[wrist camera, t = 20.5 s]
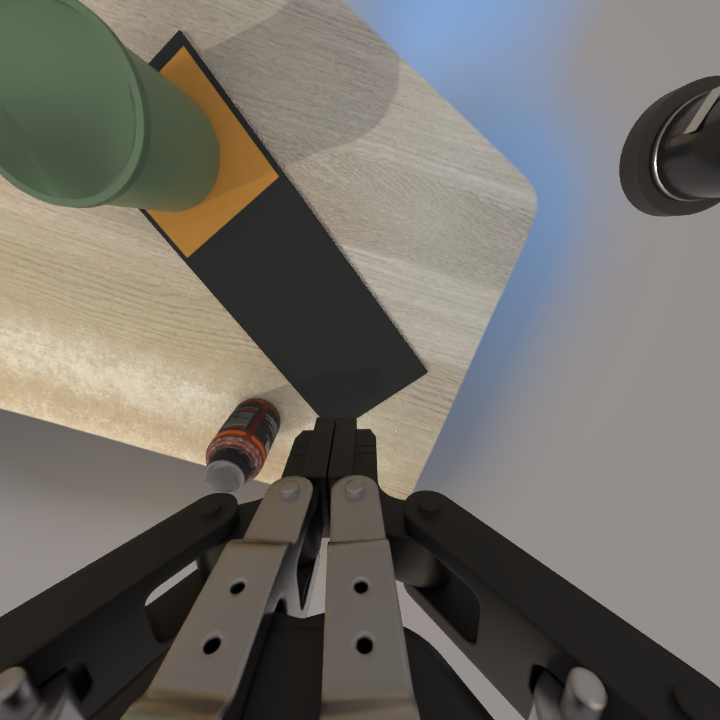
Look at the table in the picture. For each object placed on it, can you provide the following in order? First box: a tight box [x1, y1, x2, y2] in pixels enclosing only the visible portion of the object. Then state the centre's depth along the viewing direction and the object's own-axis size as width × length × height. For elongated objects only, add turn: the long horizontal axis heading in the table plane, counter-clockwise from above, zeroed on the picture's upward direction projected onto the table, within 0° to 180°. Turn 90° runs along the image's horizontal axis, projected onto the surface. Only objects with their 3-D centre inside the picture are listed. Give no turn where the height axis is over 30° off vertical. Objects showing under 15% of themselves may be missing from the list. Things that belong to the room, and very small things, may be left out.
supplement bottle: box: [204, 399, 280, 494], centre depth 39 cm, size 6×6×11 cm
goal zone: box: [145, 46, 279, 258], centre depth 34 cm, size 13×13×1 cm
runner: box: [139, 30, 428, 418], centre depth 38 cm, size 40×14×1 cm, turn 36°
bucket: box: [0, 0, 220, 212], centre depth 28 cm, size 12×12×13 cm
